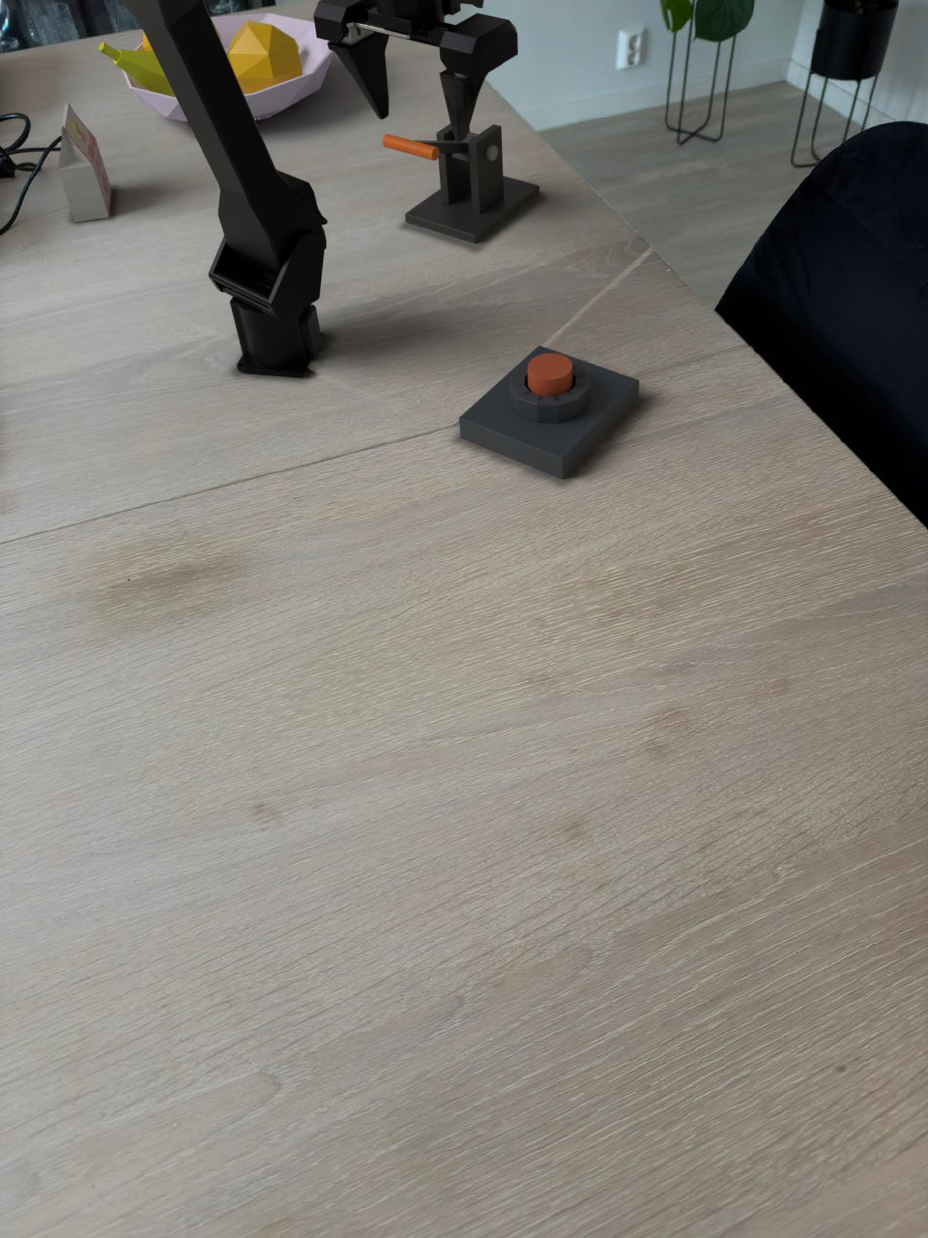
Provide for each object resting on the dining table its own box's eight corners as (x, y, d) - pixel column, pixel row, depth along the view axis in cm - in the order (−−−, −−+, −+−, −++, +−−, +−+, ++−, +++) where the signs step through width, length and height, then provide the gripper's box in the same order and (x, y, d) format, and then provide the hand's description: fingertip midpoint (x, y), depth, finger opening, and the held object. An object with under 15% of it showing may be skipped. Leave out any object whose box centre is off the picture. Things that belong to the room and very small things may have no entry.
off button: (556, 402, 87) (556, 384, 86) (519, 388, 89) (518, 370, 88) (580, 379, 89) (581, 361, 88) (543, 365, 91) (543, 347, 89)
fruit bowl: (308, 45, 150) (293, -48, 142) (365, 121, 133) (353, 21, 124) (104, 86, 145) (77, -7, 136) (137, 172, 127) (107, 71, 119)
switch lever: (430, 167, 102) (434, 140, 101) (380, 153, 105) (383, 126, 104) (499, 165, 111) (503, 140, 110) (452, 152, 114) (455, 127, 113)
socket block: (562, 480, 86) (562, 440, 84) (460, 438, 91) (457, 399, 88) (638, 401, 93) (641, 361, 90) (539, 365, 97) (538, 326, 94)
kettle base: (475, 247, 111) (470, 163, 105) (405, 226, 115) (397, 143, 109) (539, 197, 117) (539, 114, 111) (471, 178, 121) (467, 97, 115)
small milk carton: (75, 222, 120) (44, 130, 113) (79, 193, 125) (49, 104, 117) (109, 217, 120) (80, 126, 113) (111, 188, 125) (83, 99, 118)
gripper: (555, -77, 89) (555, 116, 100) (381, -106, 97) (400, 76, 109) (472, -34, 83) (482, 166, 95) (295, -69, 92) (325, 119, 103)
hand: (421, 128), depth 101 cm, fingers open, 9 cm apart
